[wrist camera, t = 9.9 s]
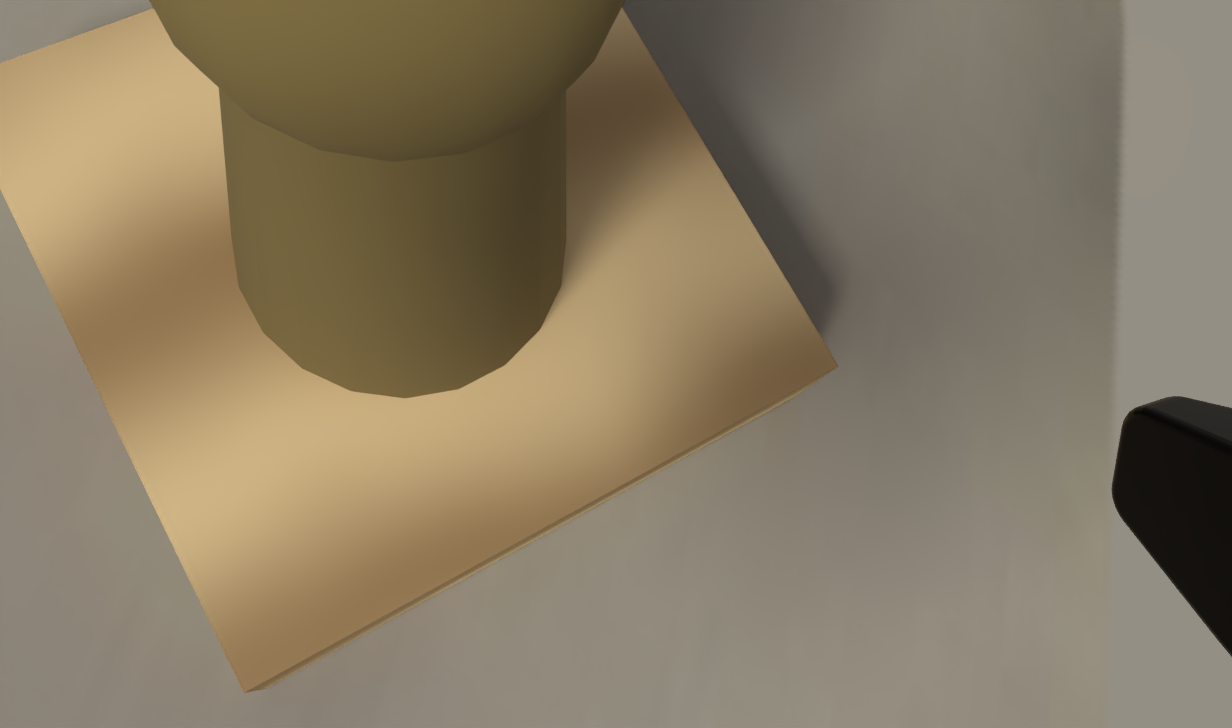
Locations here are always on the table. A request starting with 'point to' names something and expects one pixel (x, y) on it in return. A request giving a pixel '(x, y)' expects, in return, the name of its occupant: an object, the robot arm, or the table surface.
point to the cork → (395, 174)
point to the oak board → (368, 423)
